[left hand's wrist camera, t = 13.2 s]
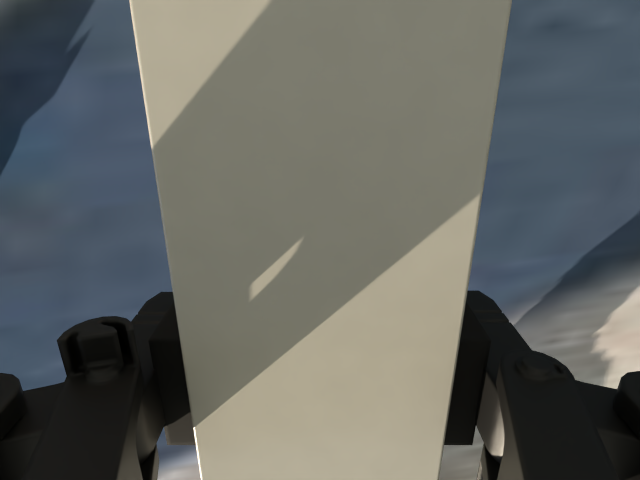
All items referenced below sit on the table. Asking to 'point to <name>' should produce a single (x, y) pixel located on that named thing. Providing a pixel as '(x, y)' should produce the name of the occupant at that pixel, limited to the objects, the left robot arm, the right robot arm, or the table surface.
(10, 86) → the table surface
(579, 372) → the table surface
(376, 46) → the post
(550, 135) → the table surface
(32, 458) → the left robot arm
